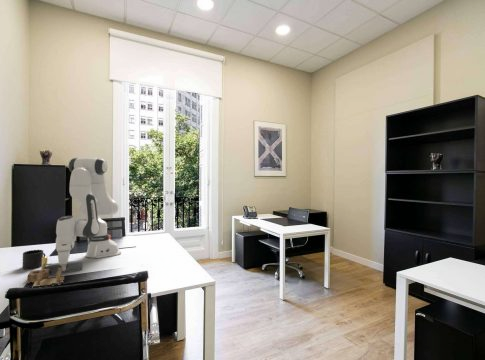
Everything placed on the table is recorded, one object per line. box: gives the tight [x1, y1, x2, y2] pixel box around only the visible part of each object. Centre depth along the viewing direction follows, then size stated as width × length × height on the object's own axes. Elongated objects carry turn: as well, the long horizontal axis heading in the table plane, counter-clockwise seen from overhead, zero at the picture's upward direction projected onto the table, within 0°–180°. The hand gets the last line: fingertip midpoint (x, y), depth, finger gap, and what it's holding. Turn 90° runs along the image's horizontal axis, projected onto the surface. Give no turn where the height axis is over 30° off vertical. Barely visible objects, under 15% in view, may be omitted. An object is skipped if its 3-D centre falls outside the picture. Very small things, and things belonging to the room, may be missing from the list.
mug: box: [22, 249, 46, 270], centre depth 151 cm, size 9×12×9 cm
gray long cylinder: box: [44, 259, 84, 276], centre depth 144 cm, size 18×5×5 cm, turn 121°
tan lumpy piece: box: [26, 269, 50, 284], centre depth 132 cm, size 8×7×4 cm
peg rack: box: [32, 268, 65, 287], centre depth 128 cm, size 12×8×6 cm, turn 121°
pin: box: [40, 256, 48, 270], centre depth 144 cm, size 3×3×8 cm
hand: (64, 268), depth 144 cm, fingers open, 6 cm apart
